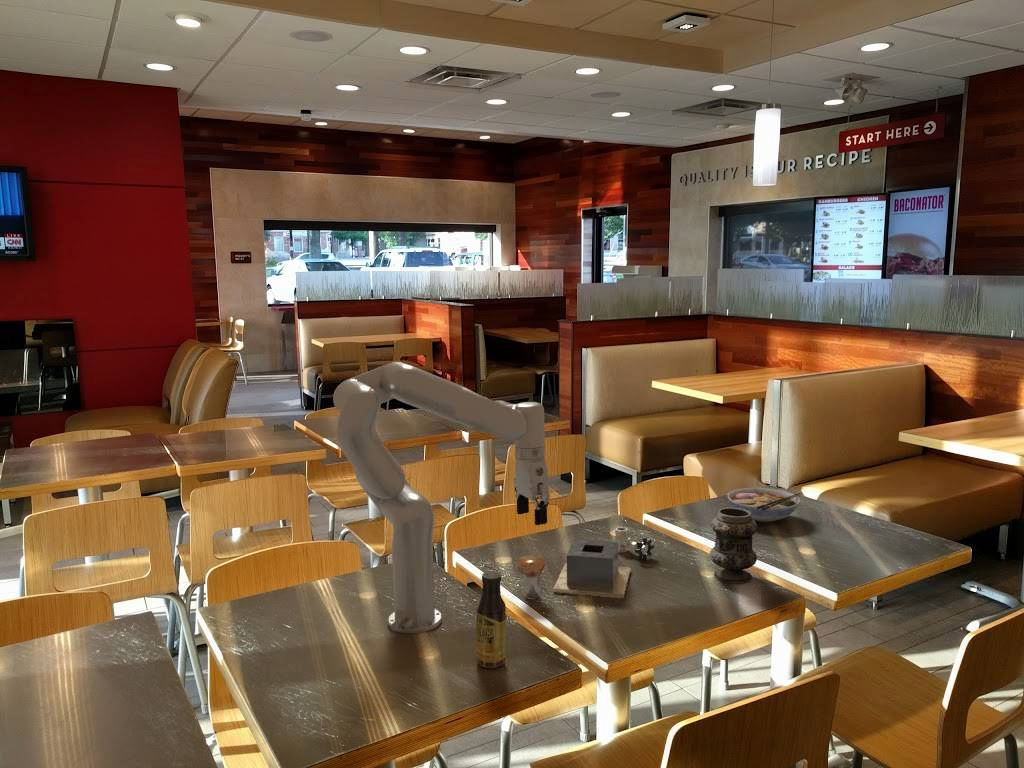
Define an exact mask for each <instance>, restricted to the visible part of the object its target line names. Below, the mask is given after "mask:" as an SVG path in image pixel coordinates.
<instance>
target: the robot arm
mask: <svg viewBox="0 0 1024 768" xmlns="http://www.w3.org/2000/svg"><path fill="white" fill-rule="evenodd" d="M332 398H333V399H332V400H333V401H332V402H333V405H334V407H335V409H336V410H337V412H339V413H340V415H339V418H338V421H337V428H336V430H337V431H336V433H337V434H336V435H337V436H336V437H337V441H338V445H339V448H340V449H341V451H342V452H343V455H345V457H346V459H347V461H349V463H350V465H351V466H352V467H353V469H354V474H355V478H356V480H357V482H358V483H359V485H360V487H361V488H362V489H363V491H364V492H365V493H366V494H367V497H368V498H369V499H370V500H371V501H372V503H373V504H374V506H375V507H376V508H377V510H379V512H380V513H381V515H382V516H383V517H384V518H385V520H387V521H389V523H390V524H391V525H392V527H393V528H392V529H393V532H392V533H393V534H392V541H391V563H392V583H393V585H392V587H393V589H392V590H393V606H394V608H393V612H392V613H391V614H390V615H389V616H388V620H387V621H388V622H387V623H388V626H389V628H390V629H391V630H392V631H393V632H397V633H398V632H399V633H402V634H420V633H424V632H427V631H431V630H434V629H435V628H437V627H438V626H440V624H441V623H442V621H443V620H442V618H443V617H442V613H441V612H440V611H439V610H438V609H437V608H435V605H436V604H435V579H434V578H435V577H434V573H435V571H434V557H433V555H434V553H433V552H434V551H433V550H434V549H433V545H434V544H433V543H434V541H433V539H434V538H433V536H434V529H435V511H434V508H433V506H432V504H431V503H430V501H429V500H428V499H427V498H426V497H425V495H422V494H421V492H418V491H417V490H415V489H414V488H413V486H411V484H410V483H409V482H408V480H407V479H406V474H405V471H404V469H403V466H402V465H401V463H399V461H397V459H396V458H395V457H394V456H393V454H392V453H391V452H390V450H389V449H388V448H387V446H386V445H385V443H384V442H383V440H382V439H381V437H380V436H379V434H378V432H377V429H376V424H377V419H378V417H379V413H380V411H381V404H383V403H384V404H385V403H386V402H389V401H391V400H393V399H395V400H397V401H399V402H402V403H404V404H406V405H410V406H411V407H413V408H414V407H415V408H417V409H420V410H423V411H425V412H428V413H429V414H430V413H431V414H433V415H435V416H438V417H440V418H444V419H445V420H448V421H451V422H454V423H457V424H462V425H465V426H468V427H470V428H473V429H476V430H479V431H481V432H484V433H487V434H489V435H491V436H494V437H497V438H498V439H503V440H505V441H508V442H513V441H514V458H515V469H514V470H515V473H514V474H515V475H514V476H515V477H514V478H513V484H514V491H515V493H516V494H515V498H516V513H517V515H523V514H528V513H529V512H530V502H529V501H530V500H531V501H533V503H534V506H535V509H534V525H535V526H540V525H546V524H547V523H548V508H549V503H550V498H551V495H550V485H549V483H550V482H549V474H548V473H549V472H548V466H547V465H548V464H547V461H546V438H545V437H546V432H545V430H546V427H545V408H544V406H543V405H542V403H539V402H536V401H524V402H519V403H515V404H513V403H512V404H508V403H507V404H506V403H505V404H504V403H503V404H502V403H500V402H497V401H495V400H492V399H490V398H487V397H485V396H482V395H480V394H479V393H476V392H474V391H473V390H470V389H468V388H466V387H465V386H462V385H461V384H459V383H455V382H453V381H451V380H447V379H446V378H443V377H440V376H437V375H435V374H433V373H431V372H428V371H426V370H423V369H421V368H419V367H416V366H413V365H410V364H407V363H405V362H402V361H393V362H390V363H387V364H384V365H381V366H378V367H376V368H374V369H372V370H369V371H367V372H364V373H360V374H359V375H355V376H353V377H351V378H348V379H346V380H344V381H342V382H341V383H340V384H339V385H337V387H336V388H335V390H334V393H333V395H332Z"/></svg>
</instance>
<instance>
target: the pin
mask: <svg viewBox="0 0 1024 768" xmlns="http://www.w3.org/2000/svg"><path fill="white" fill-rule="evenodd" d="M517 572H518V573H519V574H521V575H523V596H525V597H527V598H537V599H539V598H540V597H539V596H541V595H540V594H541V592H540V591H541V590H540V589H541V588H540V575H541V574H544V573H545V572H546V559H545V558H544V557H543V556H539V555H532V554H531V555H523V556H521V557H519V558H517ZM525 597H524V598H525ZM538 597H539V598H538Z"/></svg>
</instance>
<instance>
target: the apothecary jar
mask: <svg viewBox="0 0 1024 768" xmlns="http://www.w3.org/2000/svg"><path fill="white" fill-rule="evenodd" d="M710 527H711V530H713V531H714V532H715V540H714V547H712V549H710V552H709V557H710V560H711V561H712V562H713V564H715V565H717V566H719V567H720V568H719V569H717V570H716V571H714V574H713V577H714V578H715V579H716V580H718V581H721V582H724V583H728V584H745V583H748V582H750V581H752V579H753V575H752V574H751V572H749V571H747V569H750V568H752V567H753V566H754V565H756V562H757V561H758V556H757V553H756V552H755V551H754V550H753V536H754V535H755V534H756V533H757V531H758V525H757V523H756V521H754V520H752V517H751V513H750V512H749V511H747V510H745V509H740V508H734V507H723V508H720V509H719V510H718V512H717V515H716V517H713V519H712V521H711V524H710Z"/></svg>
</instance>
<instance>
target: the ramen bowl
mask: <svg viewBox="0 0 1024 768" xmlns="http://www.w3.org/2000/svg"><path fill="white" fill-rule="evenodd" d="M800 495H803V492H798V493H796V494H794V493H791V492H788V491H784V490H782V489H781V490H780V489H775V488H768V487H767V488H765V487H747V488H746V487H745V488H738V489H734V490H732V491H730V492H728V493H727V499H728V501H729V503H730V504H731V506H732V508H740V509H745V510H747V511H749V512H750V513H751V517H752V520H754V521H755V522H758V523H773V522H775V521H779V520H782V519H785V518H787V517H789V516H790V515H791V514H792V513H794V512H795V510H796V509H797V508H798V507H799V505H800V504H801V498H800V497H799V496H800Z"/></svg>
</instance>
